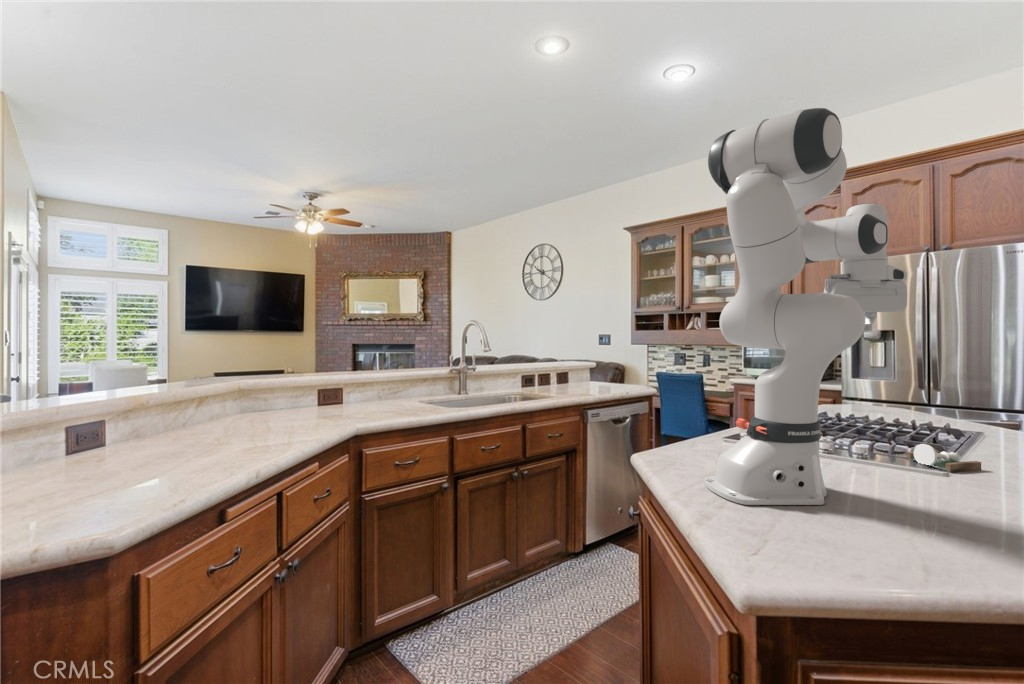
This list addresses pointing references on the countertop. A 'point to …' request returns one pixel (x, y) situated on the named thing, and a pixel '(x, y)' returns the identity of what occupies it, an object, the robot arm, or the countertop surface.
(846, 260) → the robot arm
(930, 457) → the chess piece
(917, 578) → the countertop surface
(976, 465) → the cradle
